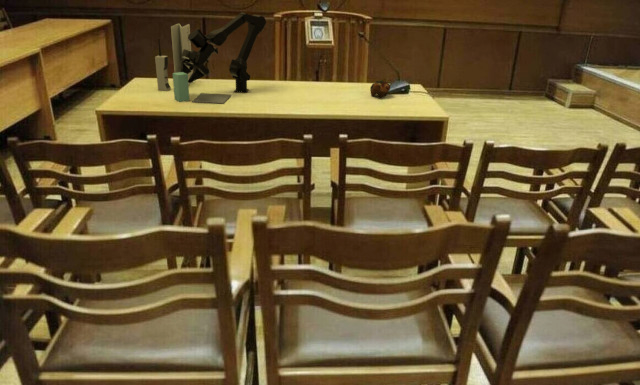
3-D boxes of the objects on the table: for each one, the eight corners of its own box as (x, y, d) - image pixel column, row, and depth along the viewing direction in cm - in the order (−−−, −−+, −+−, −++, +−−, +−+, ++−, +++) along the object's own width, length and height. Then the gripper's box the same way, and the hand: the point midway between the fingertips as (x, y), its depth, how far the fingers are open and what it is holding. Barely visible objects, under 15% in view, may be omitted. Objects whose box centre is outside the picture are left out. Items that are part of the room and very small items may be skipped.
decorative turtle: (365, 98, 254) (366, 82, 250) (375, 92, 266) (376, 77, 263) (383, 100, 250) (385, 84, 247) (392, 94, 263) (394, 79, 259)
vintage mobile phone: (167, 91, 250) (162, 39, 240) (158, 90, 251) (153, 38, 241) (170, 89, 254) (166, 38, 243) (161, 88, 254) (156, 37, 244)
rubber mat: (201, 94, 248) (201, 93, 247) (231, 95, 247) (231, 94, 247) (191, 102, 233) (191, 101, 233) (223, 104, 232) (223, 102, 232)
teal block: (174, 99, 236) (172, 73, 231) (184, 98, 239) (182, 72, 234) (179, 102, 233) (177, 75, 227) (189, 100, 236) (187, 73, 231)
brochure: (186, 87, 258) (181, 27, 246) (175, 87, 258) (170, 26, 246) (193, 81, 271) (189, 24, 259) (183, 81, 271) (178, 23, 259)
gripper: (182, 40, 236) (162, 65, 233) (202, 45, 223) (181, 72, 221) (198, 55, 244) (178, 80, 242) (218, 62, 231) (198, 88, 229)
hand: (183, 80), depth 233 cm, fingers open, 9 cm apart
